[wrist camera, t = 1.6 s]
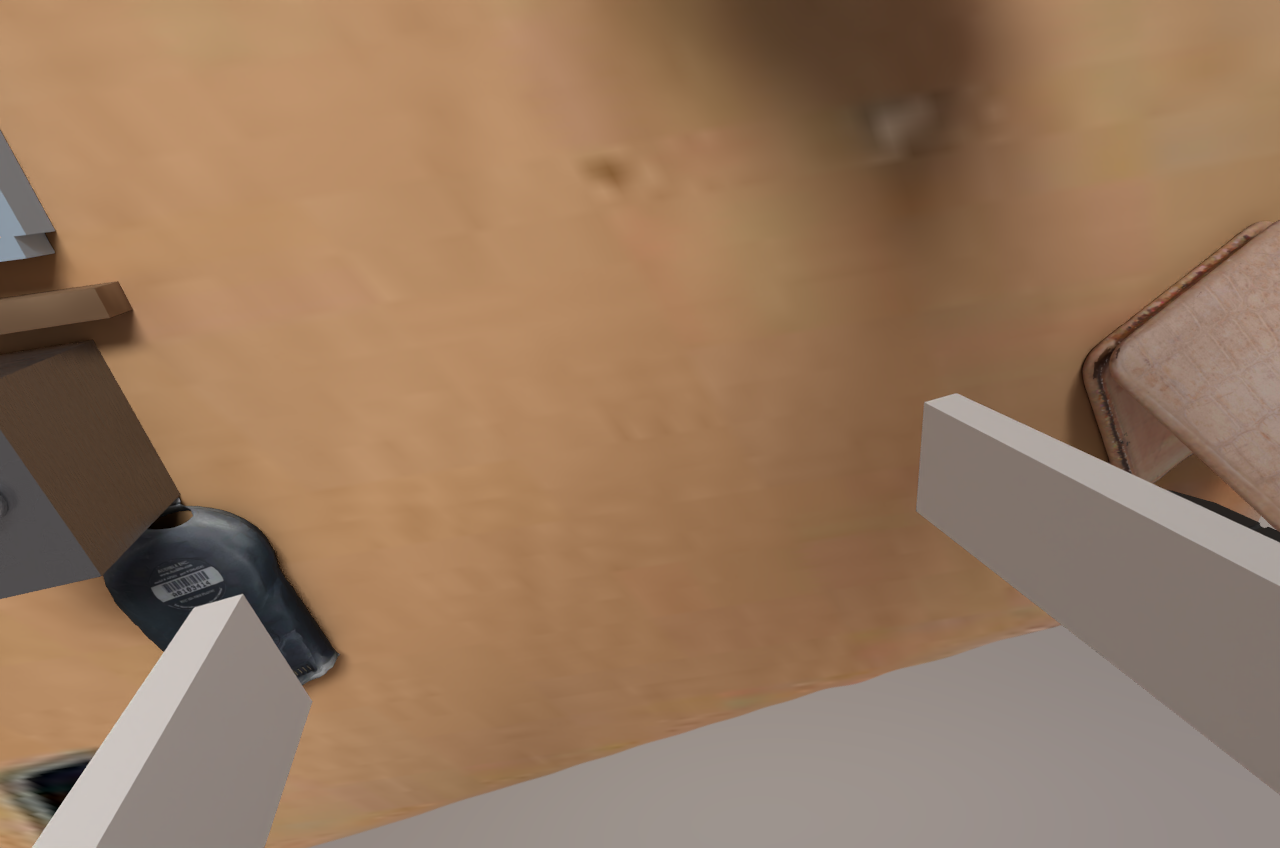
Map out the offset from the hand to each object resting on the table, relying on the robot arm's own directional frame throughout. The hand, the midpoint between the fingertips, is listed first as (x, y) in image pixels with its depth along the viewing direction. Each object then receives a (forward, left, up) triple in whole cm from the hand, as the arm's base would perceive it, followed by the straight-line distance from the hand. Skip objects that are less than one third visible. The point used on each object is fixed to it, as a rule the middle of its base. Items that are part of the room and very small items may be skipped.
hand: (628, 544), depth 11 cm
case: (+17, +59, -27) cm, 67 cm away
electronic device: (+17, -24, -28) cm, 40 cm away
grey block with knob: (+4, -26, -27) cm, 38 cm away
